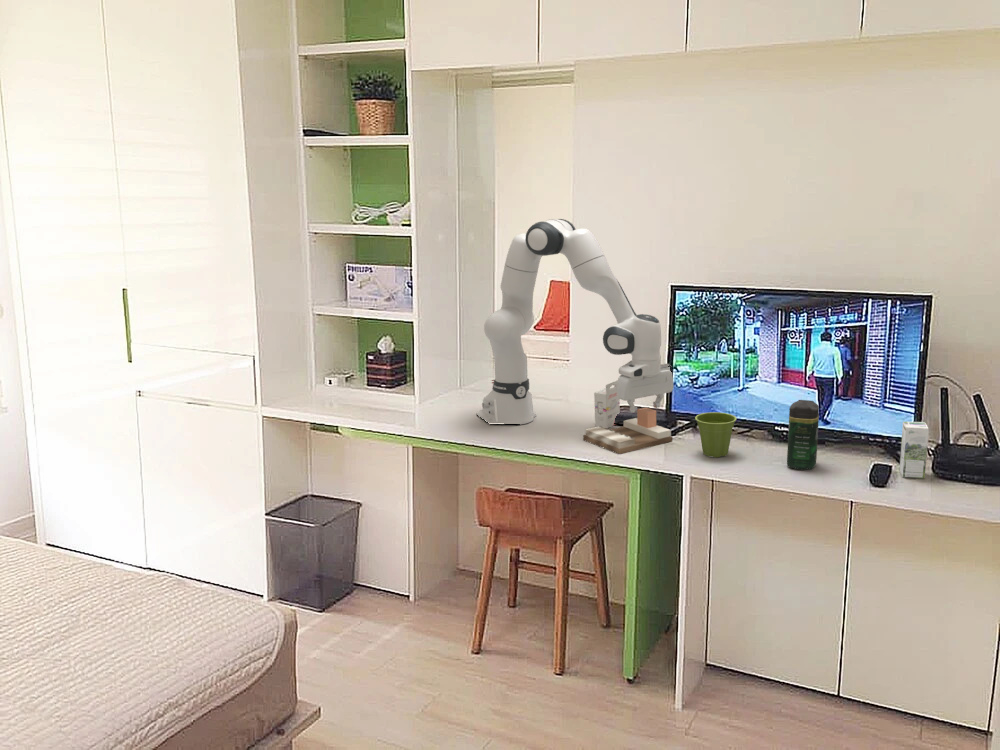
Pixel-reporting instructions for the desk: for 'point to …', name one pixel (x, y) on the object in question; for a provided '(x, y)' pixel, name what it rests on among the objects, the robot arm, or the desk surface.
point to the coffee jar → (803, 434)
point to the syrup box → (914, 449)
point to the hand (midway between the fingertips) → (645, 409)
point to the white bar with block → (647, 424)
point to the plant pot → (715, 432)
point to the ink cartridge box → (606, 406)
